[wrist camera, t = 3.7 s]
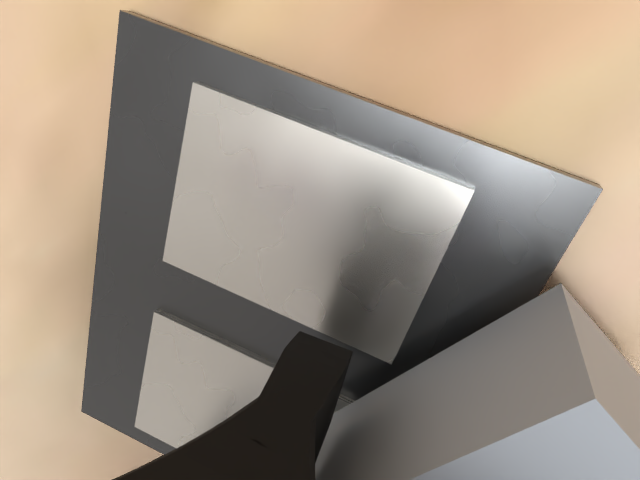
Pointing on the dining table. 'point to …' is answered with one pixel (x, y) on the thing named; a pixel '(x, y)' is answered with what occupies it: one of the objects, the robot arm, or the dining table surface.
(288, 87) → the label panel
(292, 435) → the robot arm
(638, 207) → the dining table surface
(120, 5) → the dining table surface
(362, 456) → the gray rectangular box
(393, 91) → the dining table surface
